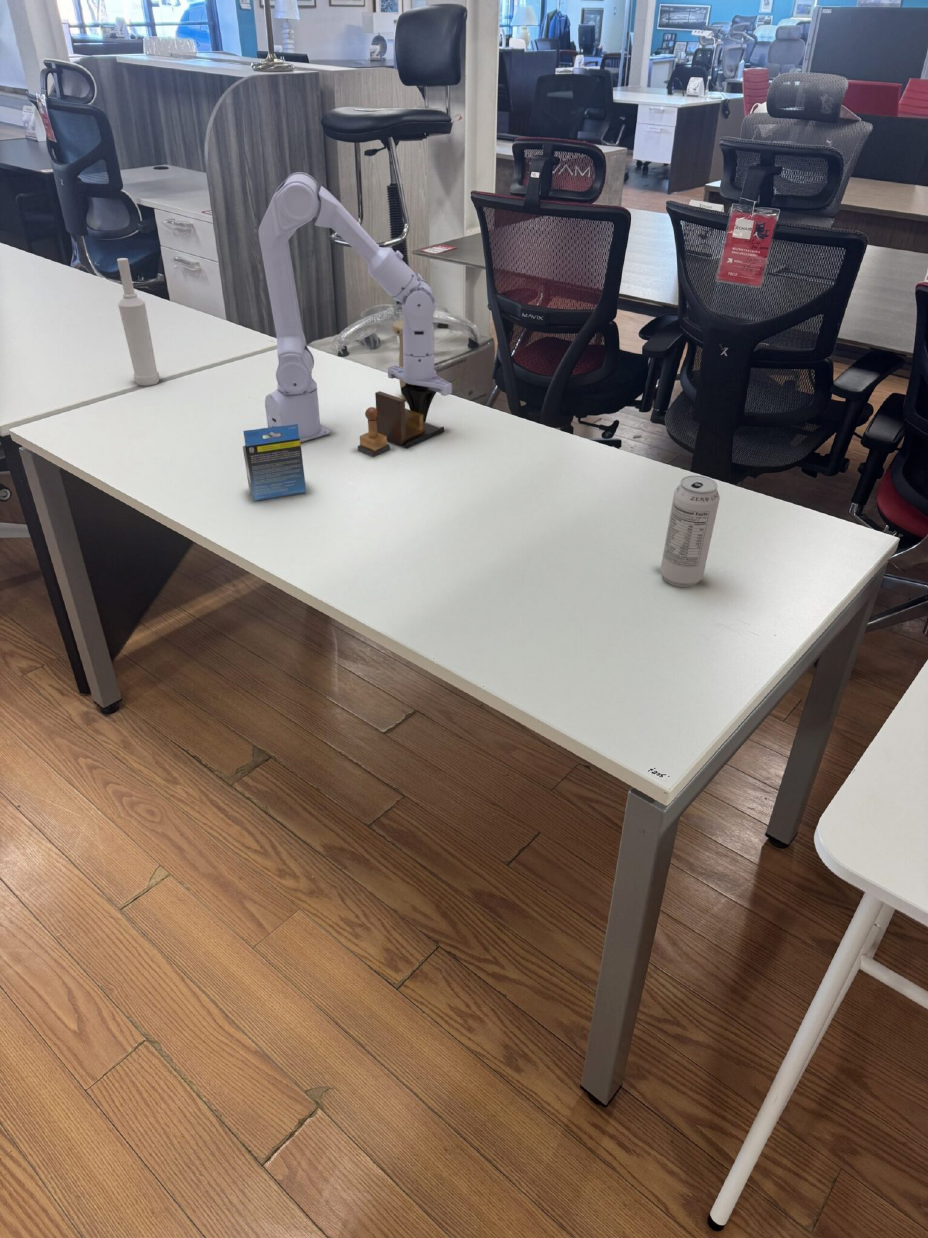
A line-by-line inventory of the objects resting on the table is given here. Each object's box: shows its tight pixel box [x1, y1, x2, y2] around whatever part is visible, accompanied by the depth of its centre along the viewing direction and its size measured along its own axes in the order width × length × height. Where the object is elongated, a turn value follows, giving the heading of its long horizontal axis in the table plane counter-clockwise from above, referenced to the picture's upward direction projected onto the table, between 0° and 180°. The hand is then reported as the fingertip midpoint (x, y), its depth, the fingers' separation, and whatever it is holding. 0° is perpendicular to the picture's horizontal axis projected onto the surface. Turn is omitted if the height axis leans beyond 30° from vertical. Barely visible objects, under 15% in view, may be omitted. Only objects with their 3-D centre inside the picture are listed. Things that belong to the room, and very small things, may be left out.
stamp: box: [357, 406, 391, 458], centre depth 154 cm, size 8×4×7 cm
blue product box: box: [242, 424, 307, 502], centre depth 138 cm, size 9×4×12 cm, turn 111°
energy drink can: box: [660, 474, 721, 588], centre depth 117 cm, size 6×6×15 cm
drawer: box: [374, 390, 425, 444], centre depth 157 cm, size 7×6×8 cm
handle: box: [391, 320, 407, 401], centre depth 173 cm, size 5×6×15 cm
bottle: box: [116, 257, 160, 387], centre depth 175 cm, size 5×5×25 cm
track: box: [387, 422, 445, 449], centre depth 161 cm, size 10×8×1 cm
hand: (419, 422), depth 162 cm, fingers closed, pressing on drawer
